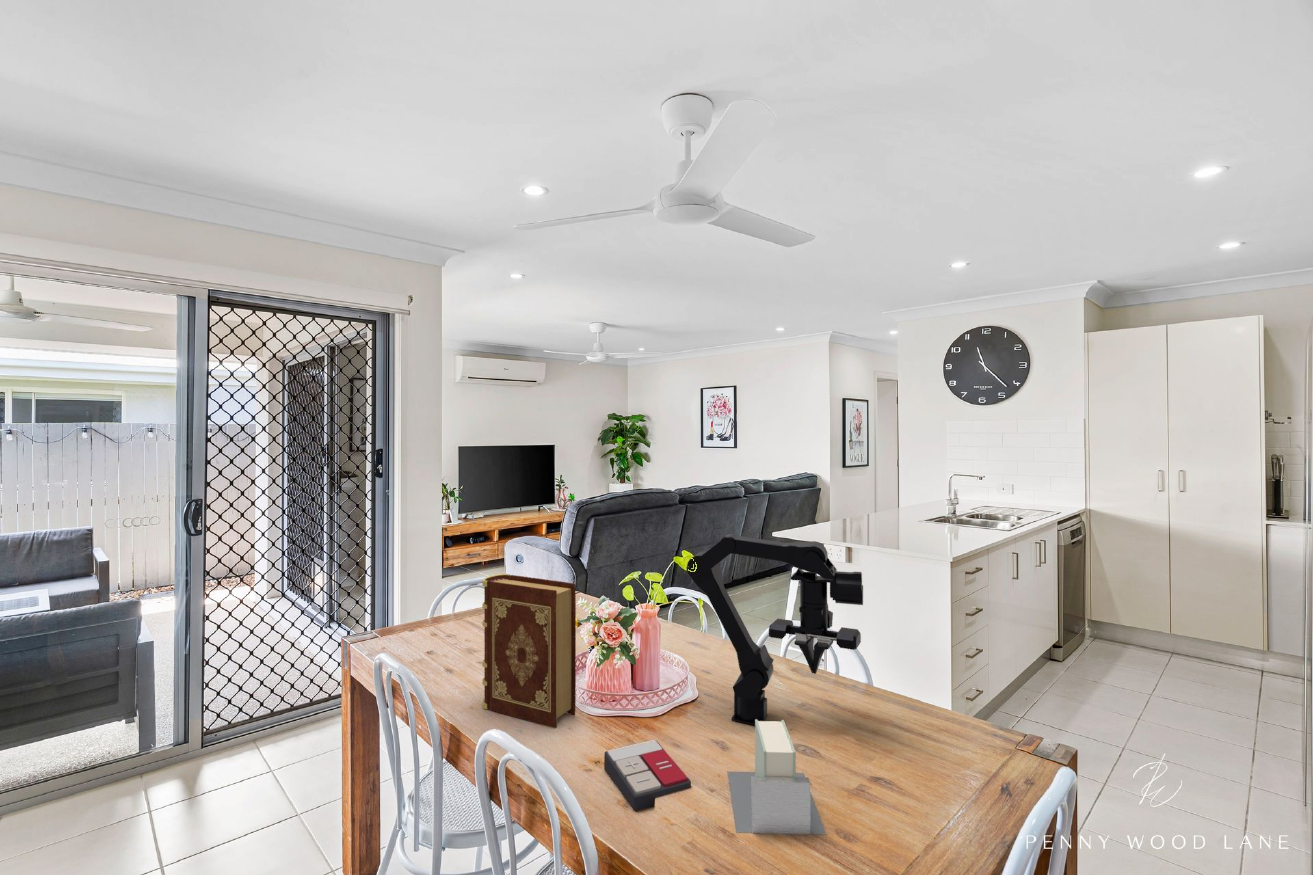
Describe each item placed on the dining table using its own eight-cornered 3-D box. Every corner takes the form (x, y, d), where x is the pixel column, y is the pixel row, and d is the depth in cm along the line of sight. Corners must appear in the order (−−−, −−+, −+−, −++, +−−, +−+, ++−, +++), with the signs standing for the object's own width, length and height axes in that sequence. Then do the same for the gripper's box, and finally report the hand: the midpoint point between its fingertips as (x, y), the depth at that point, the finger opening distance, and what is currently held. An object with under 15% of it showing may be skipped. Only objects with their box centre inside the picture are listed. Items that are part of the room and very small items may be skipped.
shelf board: (727, 779, 114) (727, 771, 114) (803, 780, 113) (803, 772, 113) (736, 841, 96) (736, 832, 96) (826, 843, 96) (826, 834, 96)
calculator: (634, 792, 104) (603, 747, 117) (634, 817, 104) (603, 769, 118) (692, 777, 109) (655, 735, 122) (691, 800, 109) (655, 756, 122)
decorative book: (477, 707, 144) (477, 579, 144) (500, 694, 151) (500, 572, 151) (554, 729, 133) (555, 590, 133) (576, 714, 140) (576, 582, 140)
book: (755, 787, 109) (755, 719, 108) (783, 787, 108) (783, 719, 108) (763, 826, 98) (763, 751, 98) (795, 827, 97) (795, 751, 97)
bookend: (751, 826, 98) (751, 776, 98) (808, 827, 97) (808, 777, 97) (752, 832, 96) (752, 781, 96) (810, 834, 96) (810, 782, 96)
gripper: (865, 597, 136) (865, 667, 136) (782, 588, 145) (783, 654, 145) (855, 609, 126) (856, 685, 126) (767, 599, 135) (768, 670, 135)
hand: (814, 672), depth 134 cm, fingers closed
